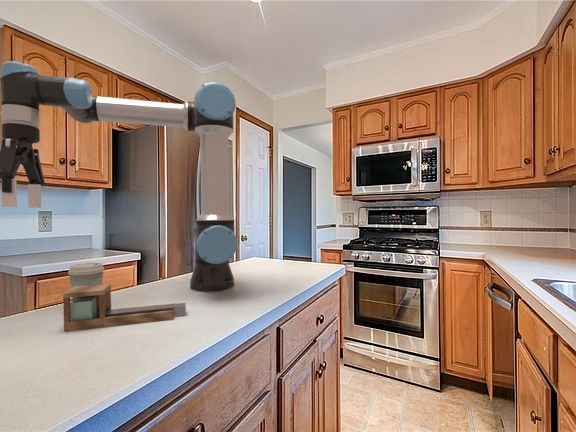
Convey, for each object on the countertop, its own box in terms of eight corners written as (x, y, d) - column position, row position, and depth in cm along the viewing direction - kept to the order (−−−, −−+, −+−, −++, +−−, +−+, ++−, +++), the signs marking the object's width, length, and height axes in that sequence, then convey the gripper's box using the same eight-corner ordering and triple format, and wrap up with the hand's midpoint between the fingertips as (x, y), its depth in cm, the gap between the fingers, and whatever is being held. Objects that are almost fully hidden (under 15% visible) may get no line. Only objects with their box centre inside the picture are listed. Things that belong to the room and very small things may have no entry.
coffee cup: (87, 313, 82) (86, 268, 82) (60, 312, 84) (59, 267, 83) (112, 304, 90) (111, 262, 90) (87, 302, 92) (86, 262, 92)
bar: (185, 313, 83) (185, 302, 83) (185, 317, 80) (185, 306, 80) (102, 322, 77) (102, 310, 76) (99, 326, 73) (99, 315, 73)
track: (174, 310, 84) (174, 279, 83) (174, 319, 77) (173, 284, 77) (74, 321, 76) (73, 286, 76) (63, 331, 70) (63, 293, 70)
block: (96, 320, 77) (96, 296, 76) (92, 326, 73) (91, 301, 72) (76, 323, 75) (76, 298, 75) (70, 329, 71) (70, 302, 71)
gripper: (26, 135, 92) (28, 207, 93) (-28, 109, 69) (-26, 206, 69) (56, 137, 95) (58, 207, 95) (14, 112, 71) (16, 206, 71)
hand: (23, 207), depth 82 cm, fingers open, 13 cm apart
